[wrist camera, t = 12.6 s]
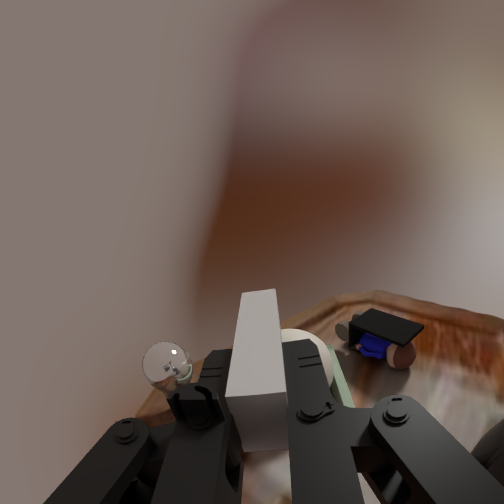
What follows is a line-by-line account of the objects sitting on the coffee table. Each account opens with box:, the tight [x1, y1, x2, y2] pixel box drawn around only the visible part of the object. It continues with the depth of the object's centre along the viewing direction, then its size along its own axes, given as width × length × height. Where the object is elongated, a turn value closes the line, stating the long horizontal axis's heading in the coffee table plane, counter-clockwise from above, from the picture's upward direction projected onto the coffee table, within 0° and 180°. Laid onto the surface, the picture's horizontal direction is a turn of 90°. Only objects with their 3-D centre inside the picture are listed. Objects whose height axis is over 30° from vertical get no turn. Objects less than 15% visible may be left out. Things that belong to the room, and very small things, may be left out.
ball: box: [281, 329, 334, 388], centre depth 33 cm, size 12×12×12 cm
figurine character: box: [335, 308, 424, 370], centre depth 40 cm, size 7×8×15 cm
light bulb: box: [142, 341, 193, 397], centre depth 34 cm, size 7×7×12 cm
